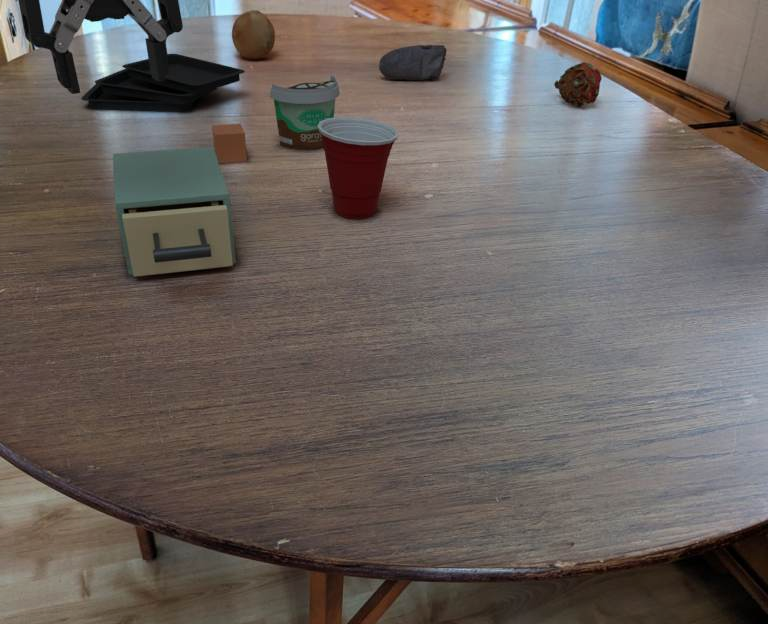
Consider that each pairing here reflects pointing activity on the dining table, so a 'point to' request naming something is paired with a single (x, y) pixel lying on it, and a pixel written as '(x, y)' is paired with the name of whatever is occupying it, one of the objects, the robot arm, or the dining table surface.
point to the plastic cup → (356, 162)
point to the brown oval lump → (253, 35)
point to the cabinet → (168, 183)
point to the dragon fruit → (579, 84)
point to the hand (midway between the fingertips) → (117, 85)
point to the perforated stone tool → (413, 62)
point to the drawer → (178, 237)
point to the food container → (303, 112)
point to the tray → (160, 85)
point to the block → (229, 143)
